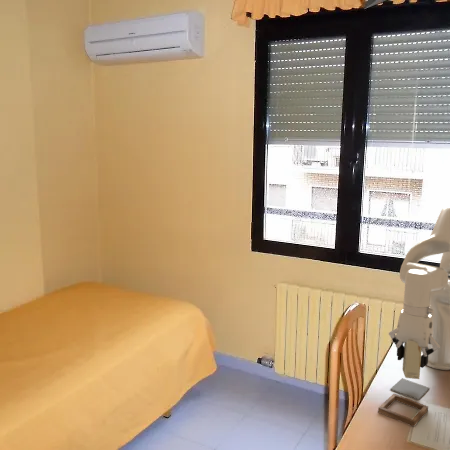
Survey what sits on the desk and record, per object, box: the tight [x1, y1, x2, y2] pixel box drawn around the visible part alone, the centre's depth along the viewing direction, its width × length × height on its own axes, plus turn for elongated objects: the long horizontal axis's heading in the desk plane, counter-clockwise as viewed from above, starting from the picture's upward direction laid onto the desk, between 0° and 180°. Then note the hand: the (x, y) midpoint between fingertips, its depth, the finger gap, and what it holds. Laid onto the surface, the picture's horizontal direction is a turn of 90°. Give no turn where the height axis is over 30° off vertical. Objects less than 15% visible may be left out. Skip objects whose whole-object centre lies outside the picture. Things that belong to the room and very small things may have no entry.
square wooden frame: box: [377, 393, 429, 428], centre depth 142 cm, size 11×11×2 cm
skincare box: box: [402, 340, 422, 380], centre depth 151 cm, size 6×4×12 cm
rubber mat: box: [389, 377, 430, 401], centre depth 154 cm, size 9×9×1 cm
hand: (411, 362), depth 152 cm, fingers closed on skincare box, 6 cm apart
